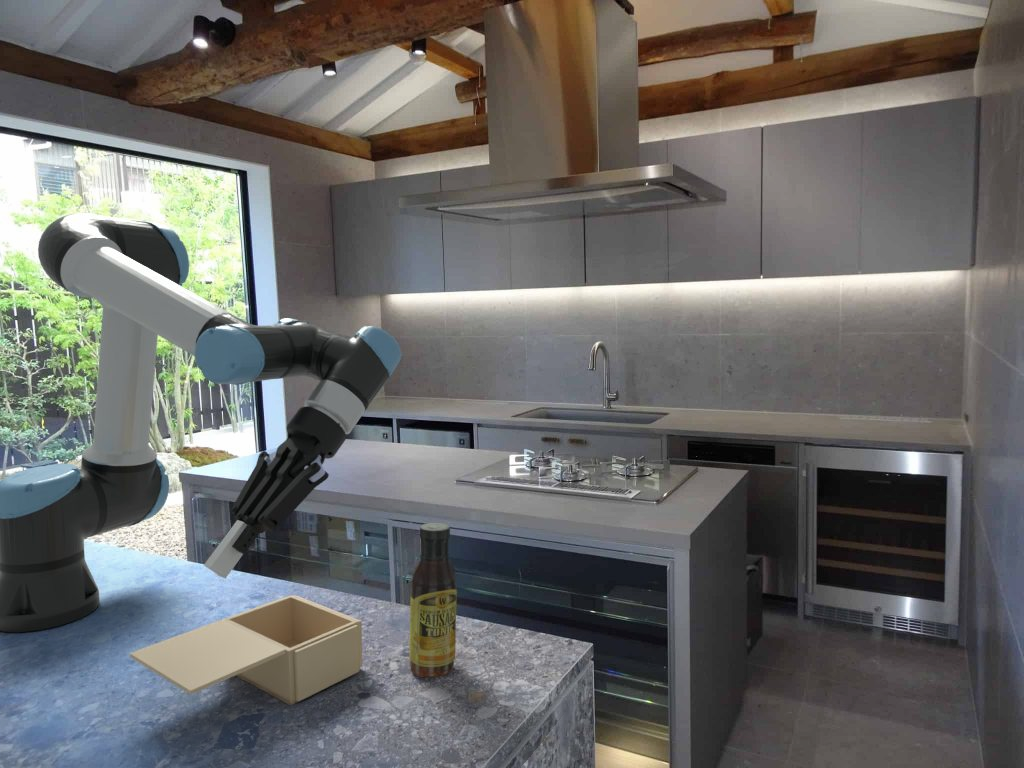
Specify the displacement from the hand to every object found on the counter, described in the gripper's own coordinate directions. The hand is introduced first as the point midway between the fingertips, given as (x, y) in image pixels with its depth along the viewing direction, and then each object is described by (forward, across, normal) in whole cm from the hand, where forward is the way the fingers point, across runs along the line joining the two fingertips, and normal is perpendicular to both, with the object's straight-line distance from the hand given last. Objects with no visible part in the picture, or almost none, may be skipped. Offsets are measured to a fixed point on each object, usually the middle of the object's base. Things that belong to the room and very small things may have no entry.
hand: (214, 571), depth 88 cm
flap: (+4, 0, -10) cm, 11 cm away
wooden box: (+4, 0, -19) cm, 20 cm away
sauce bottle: (-4, -15, -28) cm, 32 cm away
